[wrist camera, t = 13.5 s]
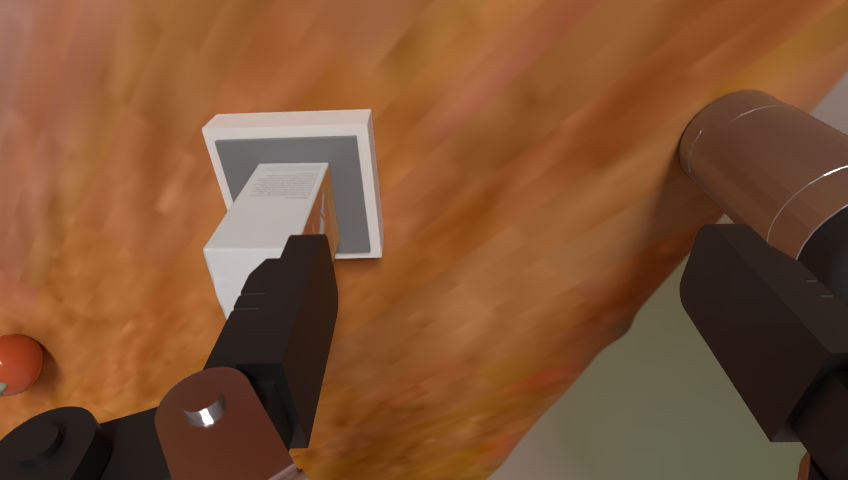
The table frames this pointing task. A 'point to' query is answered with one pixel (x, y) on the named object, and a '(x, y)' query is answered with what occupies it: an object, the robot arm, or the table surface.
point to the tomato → (19, 363)
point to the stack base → (307, 143)
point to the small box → (269, 222)
